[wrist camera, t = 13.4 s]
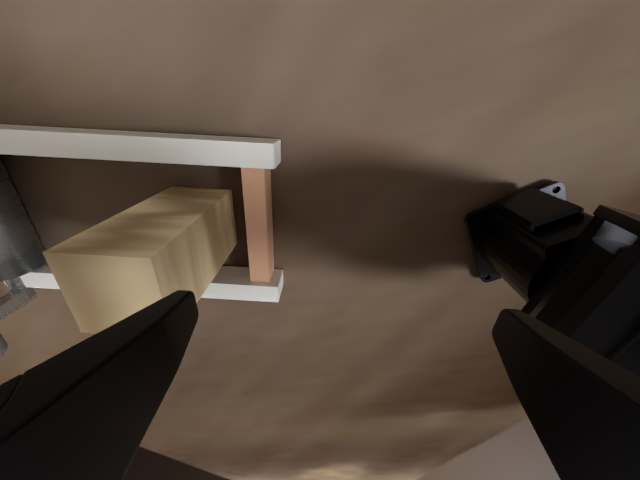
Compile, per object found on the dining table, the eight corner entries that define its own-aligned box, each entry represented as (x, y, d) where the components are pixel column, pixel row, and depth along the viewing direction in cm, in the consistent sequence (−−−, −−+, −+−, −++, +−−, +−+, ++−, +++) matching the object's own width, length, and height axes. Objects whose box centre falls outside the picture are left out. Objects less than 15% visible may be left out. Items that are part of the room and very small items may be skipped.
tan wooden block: (231, 189, 20) (150, 258, 11) (237, 243, 22) (173, 338, 13) (171, 186, 20) (42, 252, 11) (182, 240, 22) (81, 332, 13)
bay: (280, 123, 18) (255, 131, 12) (283, 318, 25) (270, 381, 19) (-65, 104, 18) (-255, 103, 12) (42, 303, 26) (-42, 361, 20)
